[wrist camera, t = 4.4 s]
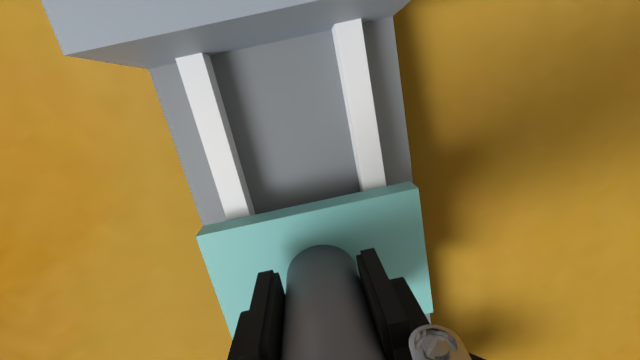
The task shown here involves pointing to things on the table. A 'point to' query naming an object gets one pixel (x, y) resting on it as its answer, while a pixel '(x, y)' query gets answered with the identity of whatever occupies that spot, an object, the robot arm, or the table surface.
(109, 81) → the table surface
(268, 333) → the robot arm
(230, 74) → the rail track
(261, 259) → the carriage
